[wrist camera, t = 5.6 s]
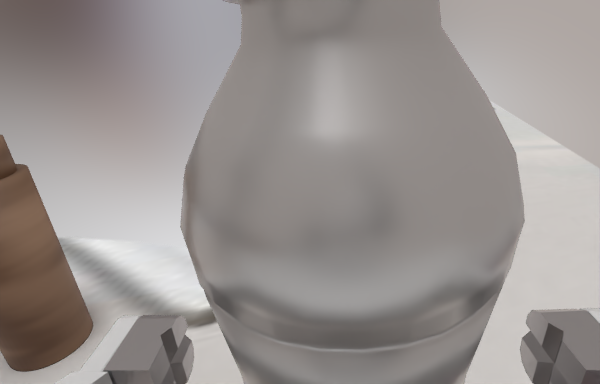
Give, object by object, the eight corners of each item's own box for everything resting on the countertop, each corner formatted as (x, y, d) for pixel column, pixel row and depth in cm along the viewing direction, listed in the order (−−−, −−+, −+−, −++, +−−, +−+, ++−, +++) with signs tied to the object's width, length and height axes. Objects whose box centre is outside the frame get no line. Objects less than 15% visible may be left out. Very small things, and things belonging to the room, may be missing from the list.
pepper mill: (-13, 371, 22) (-179, 106, 15) (45, 314, 26) (-63, 91, 20) (61, 371, 21) (-78, 98, 15) (107, 312, 26) (17, 84, 19)
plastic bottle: (452, 483, 14) (553, -126, 7) (442, 769, 9) (1062, -1042, 1) (310, 426, 17) (259, -59, 9) (234, 621, 12) (-74, -194, 4)
